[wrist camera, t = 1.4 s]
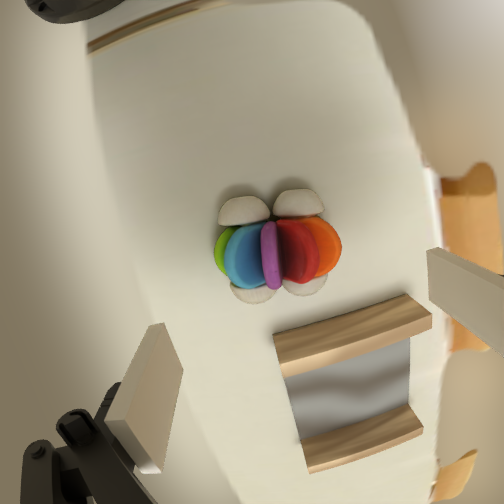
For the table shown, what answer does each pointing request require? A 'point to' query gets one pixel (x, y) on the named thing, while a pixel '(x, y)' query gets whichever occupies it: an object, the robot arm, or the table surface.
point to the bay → (352, 381)
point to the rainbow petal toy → (276, 246)
